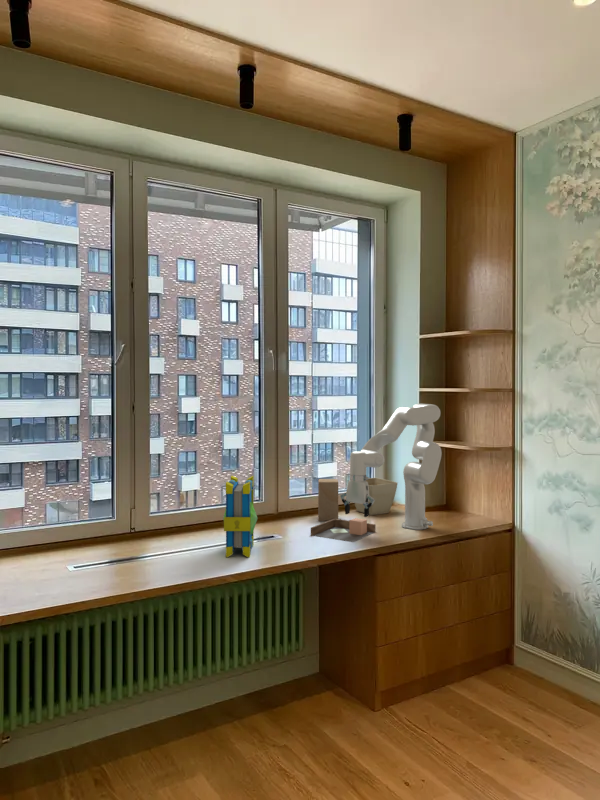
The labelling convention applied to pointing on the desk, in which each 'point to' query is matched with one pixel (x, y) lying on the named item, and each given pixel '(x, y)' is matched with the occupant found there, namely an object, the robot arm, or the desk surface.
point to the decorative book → (239, 516)
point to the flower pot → (379, 496)
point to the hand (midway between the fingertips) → (356, 515)
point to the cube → (358, 526)
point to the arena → (339, 530)
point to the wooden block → (327, 499)
